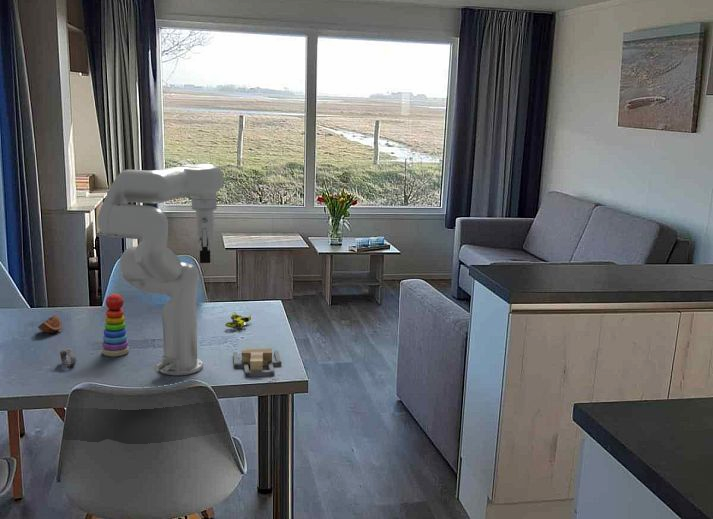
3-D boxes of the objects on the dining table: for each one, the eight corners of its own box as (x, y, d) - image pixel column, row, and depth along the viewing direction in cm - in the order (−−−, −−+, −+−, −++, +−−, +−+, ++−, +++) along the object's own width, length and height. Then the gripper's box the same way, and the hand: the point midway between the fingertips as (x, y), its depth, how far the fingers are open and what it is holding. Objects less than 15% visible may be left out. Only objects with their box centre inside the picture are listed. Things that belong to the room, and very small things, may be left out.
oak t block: (242, 361, 208) (242, 348, 207) (272, 360, 209) (272, 348, 208) (240, 374, 198) (240, 361, 197) (272, 374, 199) (272, 361, 198)
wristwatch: (68, 361, 204) (67, 344, 203) (79, 366, 200) (78, 350, 199) (57, 364, 201) (56, 347, 200) (68, 369, 197) (67, 353, 196)
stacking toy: (100, 358, 207) (97, 298, 202) (103, 349, 214) (100, 291, 210) (128, 356, 209) (126, 297, 205) (129, 347, 216) (127, 290, 212)
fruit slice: (53, 337, 224) (52, 322, 222) (33, 336, 224) (32, 321, 223) (65, 329, 232) (65, 314, 231) (46, 328, 232) (45, 313, 231)
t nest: (233, 356, 212) (233, 352, 212) (278, 354, 215) (278, 350, 214) (235, 377, 196) (235, 373, 195) (284, 374, 198) (284, 370, 198)
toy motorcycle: (232, 310, 246) (251, 311, 245) (232, 320, 246) (251, 321, 246) (224, 320, 234) (244, 321, 234) (224, 331, 235) (244, 332, 234)
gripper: (217, 207, 205) (217, 267, 209) (216, 200, 219) (217, 257, 223) (191, 207, 203) (192, 268, 207) (192, 200, 217) (193, 257, 221)
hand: (205, 262), depth 215 cm, fingers closed
